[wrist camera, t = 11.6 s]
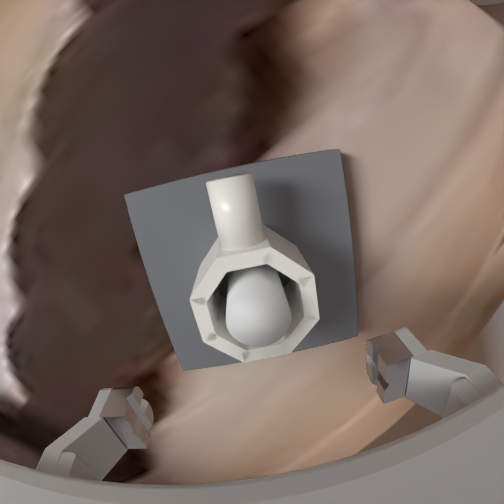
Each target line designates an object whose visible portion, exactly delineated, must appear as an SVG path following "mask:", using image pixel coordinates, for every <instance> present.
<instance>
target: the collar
mask: <svg viewBox="0 0 504 504" xmlns="http://www.w3.org/2000/svg"><path fill="white" fill-rule="evenodd" d="M206 186H207V190H208V195H209V199H210V204H211V208H212V212H213V217H214V221H215V225H216V230H217V234H218V238H217V240H216V241H215V243H214V244H213V246H212V247H211V249H210V251H209V252H208V254H207V255H206V257H205V258H204V260H203V261H202V263H201V265H200V267H199V270H198V274H197V277H196V280H195V283H194V287H193V290H192V293H191V296H190V303H191V307H192V310H193V313H194V316H195V319H196V322H197V325H198V328H199V331H200V334H201V337H202V340H203V342H204V343H206V344H208V345H210V346H212V347H214V348H216V349H218V350H219V351H221V352H223V353H225V354H227V355H229V356H231V357H233V358H236V359H238V360H240V361H242V362H251V361H256V360H261V359H267V358H272V357H277V356H282V355H286V354H290V353H291V352H292V351H293V350H294V349H295V348H296V347H297V345H298V344H299V343H300V342H301V341H302V340H303V338H304V337H305V336H306V335H307V334H308V332H309V331H310V330H311V329H312V328H313V326H314V325H315V324H316V323H317V322H318V320H319V319H320V318H319V310H318V301H317V293H316V285H315V277H314V274H313V272H312V271H311V269H310V267H309V266H308V264H307V263H306V261H305V259H304V258H303V256H302V255H301V253H300V251H299V250H298V248H297V247H296V245H294V244H293V243H291V242H289V241H288V240H286V239H285V238H283V237H282V236H280V235H279V234H277V233H276V232H274V231H273V230H271V229H270V228H268V227H267V226H265V225H263V224H262V219H261V214H260V209H259V204H258V199H257V194H256V189H255V184H254V179H253V174H252V172H248V173H241V174H236V175H231V176H226V177H222V178H218V179H214V180H210V181H208V182H206ZM264 264H268V265H270V266H271V267H273V268H275V269H276V270H278V271H280V272H281V273H283V274H284V275H286V276H288V277H289V280H290V281H289V282H288V283H287V285H286V286H285V287H284V292H285V295H286V298H287V301H288V304H289V307H290V310H291V316H292V319H291V324H290V327H289V329H288V331H287V332H286V334H285V335H284V336H283V337H282V338H281V339H280V340H278V341H276V342H275V343H273V344H270V345H267V346H261V347H254V346H248V345H245V344H242V343H240V342H239V341H237V340H236V339H235V338H234V337H233V336H232V335H231V334H230V332H229V331H228V328H227V325H226V305H227V298H225V297H223V296H221V295H220V293H219V289H218V284H219V283H220V281H221V280H222V278H223V277H224V276H225V274H226V273H227V272H230V271H235V270H240V269H245V268H250V267H254V266H259V265H264Z"/></svg>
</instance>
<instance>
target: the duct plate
mask: <svg viewBox="0 0 504 504" xmlns="http://www.w3.org/2000/svg"><path fill="white" fill-rule="evenodd" d="M248 172H252V174H253V179H254V184H255V189H256V194H257V199H258V204H259V209H260V214H261V219H262V224H263V225H265V226H267V227H268V228H270V229H271V230H273V231H274V232H276V233H277V234H279V235H280V236H282V237H283V238H285V239H286V240H288V241H289V242H291V243H293V244H294V245H296V247H297V248H298V250H299V251H300V253H301V255H302V256H303V258H304V259H305V261H306V263H307V264H308V266H309V267H310V269H311V271H312V272H313V274H314V277H315V285H316V293H317V301H318V310H319V318H320V319H319V320H318V322H317V323H316V324H315V325H314V326H313V328H312V329H311V330H310V331H309V332H308V334H307V335H306V336H305V337H304V338H303V340H302V341H301V342H300V343H299V344H298V345H297V347H296V348H295V349H294V350H293V351H292V352H295V351H300V350H304V349H309V348H313V347H317V346H321V345H325V344H329V343H333V342H337V341H341V340H345V339H349V338H352V337H356V336H358V320H357V299H356V282H355V268H354V256H353V246H352V236H351V226H350V218H349V209H348V201H347V194H346V187H345V180H344V173H343V167H342V161H341V155H340V149H333V150H326V151H319V152H312V153H306V154H300V155H294V156H288V157H282V158H277V159H271V160H266V161H260V162H255V163H250V164H245V165H240V166H236V167H231V168H226V169H222V170H217V171H213V172H208V173H204V174H200V175H195V176H191V177H187V178H183V179H179V180H175V181H171V182H167V183H163V184H160V185H156V186H152V187H148V188H145V189H141V190H138V191H134V192H131V193H128V194H126V195H124V196H125V200H126V204H127V207H128V211H129V215H130V219H131V222H132V226H133V229H134V233H135V236H136V240H137V243H138V246H139V250H140V253H141V256H142V260H143V263H144V266H145V269H146V272H147V275H148V278H149V281H150V284H151V287H152V290H153V293H154V296H155V299H156V302H157V305H158V307H159V310H160V313H161V316H162V318H163V321H164V324H165V326H166V329H167V332H168V334H169V337H170V340H171V342H172V345H173V347H174V350H175V352H176V355H177V357H178V360H179V362H180V364H181V367H182V369H183V371H185V370H193V369H200V368H208V367H214V366H221V365H227V364H233V363H239V362H242V361H240V360H238V359H236V358H233V357H231V356H229V355H227V354H225V353H223V352H221V351H219V350H218V349H216V348H214V347H212V346H210V345H208V344H206V343H204V342H203V340H202V337H201V334H200V331H199V328H198V325H197V322H196V319H195V316H194V313H193V310H192V307H191V303H190V296H191V293H192V290H193V287H194V283H195V280H196V277H197V274H198V270H199V267H200V265H201V263H202V261H203V260H204V258H205V257H206V255H207V254H208V252H209V251H210V249H211V247H212V246H213V244H214V243H215V241H216V240H217V238H218V234H217V230H216V225H215V221H214V217H213V212H212V208H211V204H210V199H209V195H208V190H207V186H206V182H208V181H210V180H214V179H218V178H222V177H226V176H231V175H236V174H241V173H248ZM289 281H290V280H289V277H288V276H286V275H284V274H283V273H281V272H280V271H278V270H276V269H275V268H273V267H271V266H270V265H268V264H264V265H259V266H254V267H250V268H245V269H240V270H235V271H230V272H227V273H226V274H225V276H224V277H223V278H222V280H221V281H220V283H219V284H218V289H219V293H220V295H221V296H223V297H225V298H227V305H226V325H227V328H228V331H229V332H230V334H231V335H232V336H233V337H234V338H235V339H236V340H237V341H239V342H240V343H242V344H245V345H248V346H254V347H261V346H267V345H270V344H273V343H275V342H276V341H278V340H280V339H281V338H282V337H283V336H284V335H285V334H286V332H287V331H288V329H289V327H290V324H291V319H292V316H291V310H290V307H289V304H288V301H287V298H286V295H285V292H284V287H285V286H286V285H287V283H288V282H289Z"/></svg>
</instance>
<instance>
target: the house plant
mask: <svg viewBox="0 0 504 504" xmlns="http://www.w3.org/2000/svg"><path fill="white" fill-rule="evenodd" d="M470 1H472V2H473V3H475V4H476V5H480V6H484V5H491V4H498V3H504V0H470Z"/></svg>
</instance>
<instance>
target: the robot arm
mask: <svg viewBox="0 0 504 504" xmlns="http://www.w3.org/2000/svg"><path fill="white" fill-rule="evenodd" d="M366 351H367V353H368V354H369V355H368V357H367V358H366V369H367V374H368V376H369V379H370V381H371V382H372V384H375V385H377V393H378V395H379V397H380V398H381V400H382V402H383V404H385V403H388V402H391V401H393V400H396V399H399V398H402V397H404V396H406V398H408V399H410V400H412V401H413V402H415V403H417V404H419V405H421V406H423V407H425V408H427V409H429V410H430V411H432V412H434V413H436V414H438V415H440V416H442V420H440V421H438V422H436V423H434V424H432V425H429V426H427V427H425V428H423V429H421V430H418V431H416V432H414V433H412V434H409V435H407V436H405V437H403V438H400V439H397V440H395V441H392V442H390V443H387V444H385V445H382V446H379V447H376V448H374V449H371V450H368V451H365V452H362V453H359V454H356V455H352V456H349V457H346V458H343V459H339V460H336V461H332V462H329V463H325V464H321V465H317V466H313V467H309V468H305V469H300V470H296V471H291V472H286V473H281V474H276V475H270V476H264V477H258V478H251V479H244V480H236V481H226V482H215V483H201V484H172V485H160V484H131V483H117V482H106V481H102V479H103V478H104V477H105V476H106V475H107V474H108V472H109V471H110V470H111V469H112V468H113V467H114V465H115V464H116V463H117V462H118V461H119V460H120V458H121V457H122V456H123V455H124V454H125V452H126V451H127V449H142V448H148V443H149V438H150V434H149V432H148V430H149V429H150V428H151V427H152V425H153V412H152V409H151V407H150V405H149V403H148V402H147V401H145V400H143V399H142V397H143V393H142V391H141V390H140V388H139V387H120V388H103V389H101V390H100V392H99V394H98V396H97V398H96V401H95V403H94V405H93V407H92V410H91V412H90V414H89V416H88V417H85V418H83V419H82V420H81V421H80V422H78V423H77V424H76V425H75V426H73V427H72V428H71V429H69V430H68V431H67V432H66V433H64V434H63V435H62V436H60V437H59V438H58V439H57V440H55V441H54V442H53V443H51V444H50V445H49V446H48V447H46V448H45V450H44V452H43V454H42V457H41V459H40V461H39V463H38V466H37V468H36V470H35V469H31V468H27V467H24V466H20V465H16V464H13V463H10V462H6V461H3V460H0V504H504V384H503V383H502V382H501V381H500V380H499V379H498V378H497V377H496V376H495V375H494V374H493V373H492V371H491V370H490V369H489V368H488V367H487V366H486V365H483V364H480V363H476V362H472V361H469V360H465V359H462V358H458V357H455V356H451V355H448V354H444V353H441V352H438V351H434V350H429V351H427V350H426V348H425V347H424V346H423V345H422V344H421V343H420V342H419V341H418V340H417V339H416V337H415V336H414V335H413V334H412V333H411V332H410V331H409V330H408V329H407V328H406V327H403V328H400V329H398V330H395V331H392V332H390V333H387V334H384V335H381V336H378V337H375V338H372V339H369V340H367V341H366Z"/></svg>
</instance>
